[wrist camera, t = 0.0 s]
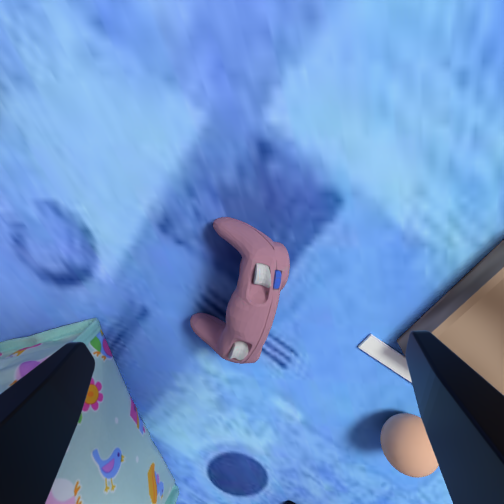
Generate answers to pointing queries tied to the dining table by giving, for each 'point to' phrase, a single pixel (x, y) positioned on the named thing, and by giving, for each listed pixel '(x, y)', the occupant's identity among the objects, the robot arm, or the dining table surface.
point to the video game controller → (246, 294)
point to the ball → (408, 445)
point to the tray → (472, 319)
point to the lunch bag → (96, 426)
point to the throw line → (386, 355)
